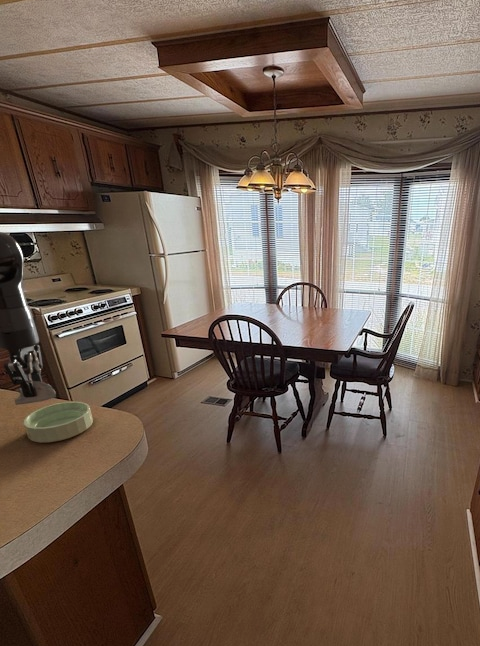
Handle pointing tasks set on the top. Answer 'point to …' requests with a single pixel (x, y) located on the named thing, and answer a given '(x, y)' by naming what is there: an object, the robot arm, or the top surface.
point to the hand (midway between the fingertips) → (34, 391)
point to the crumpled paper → (42, 394)
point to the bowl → (58, 421)
